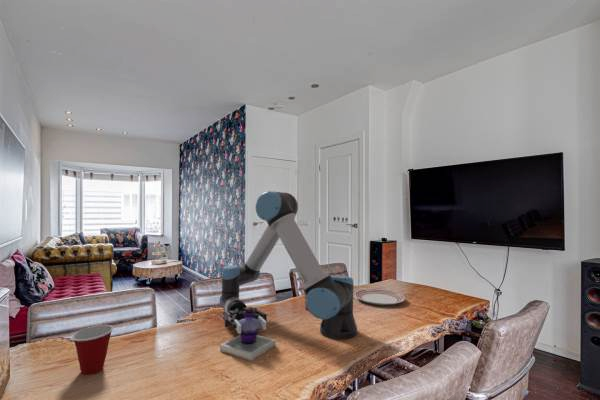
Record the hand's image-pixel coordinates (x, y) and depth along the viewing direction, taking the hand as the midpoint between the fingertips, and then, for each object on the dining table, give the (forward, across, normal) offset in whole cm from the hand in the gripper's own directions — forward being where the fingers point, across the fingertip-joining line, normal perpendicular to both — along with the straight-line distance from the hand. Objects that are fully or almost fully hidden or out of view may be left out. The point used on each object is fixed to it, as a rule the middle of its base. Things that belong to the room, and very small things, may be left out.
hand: (252, 327), depth 111 cm
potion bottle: (-5, 0, -7) cm, 8 cm away
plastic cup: (-9, +48, -9) cm, 50 cm away
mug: (-37, -43, -9) cm, 58 cm away
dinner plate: (-35, -85, -9) cm, 93 cm away
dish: (-5, 0, -9) cm, 10 cm away
